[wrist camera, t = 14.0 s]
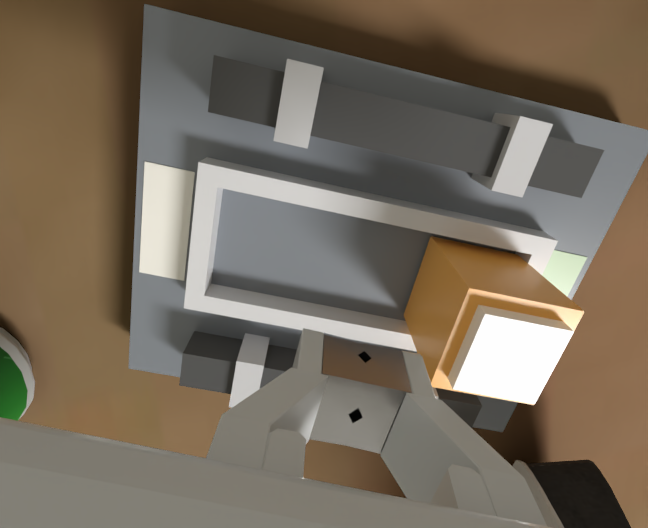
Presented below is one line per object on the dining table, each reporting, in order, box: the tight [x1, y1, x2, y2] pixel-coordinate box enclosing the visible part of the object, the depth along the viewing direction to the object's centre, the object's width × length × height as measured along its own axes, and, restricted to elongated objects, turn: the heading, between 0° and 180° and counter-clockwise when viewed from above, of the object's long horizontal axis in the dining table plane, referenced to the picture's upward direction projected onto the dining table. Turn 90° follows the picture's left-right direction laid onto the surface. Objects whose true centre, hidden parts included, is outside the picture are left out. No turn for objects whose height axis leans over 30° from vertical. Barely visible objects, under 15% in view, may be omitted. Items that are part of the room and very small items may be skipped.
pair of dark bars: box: [179, 55, 604, 428], centre depth 17 cm, size 14×15×2 cm
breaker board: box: [129, 4, 648, 432], centre depth 19 cm, size 20×16×3 cm
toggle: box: [404, 236, 585, 405], centre depth 16 cm, size 4×4×6 cm
